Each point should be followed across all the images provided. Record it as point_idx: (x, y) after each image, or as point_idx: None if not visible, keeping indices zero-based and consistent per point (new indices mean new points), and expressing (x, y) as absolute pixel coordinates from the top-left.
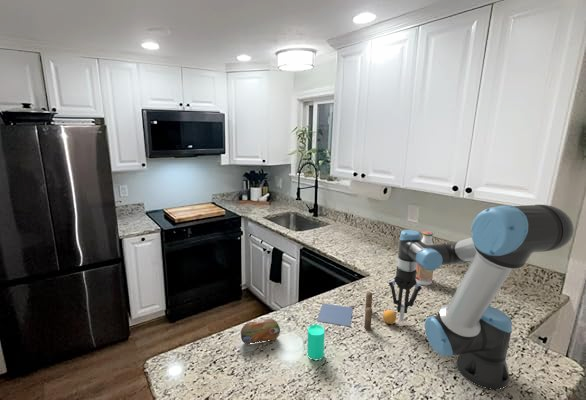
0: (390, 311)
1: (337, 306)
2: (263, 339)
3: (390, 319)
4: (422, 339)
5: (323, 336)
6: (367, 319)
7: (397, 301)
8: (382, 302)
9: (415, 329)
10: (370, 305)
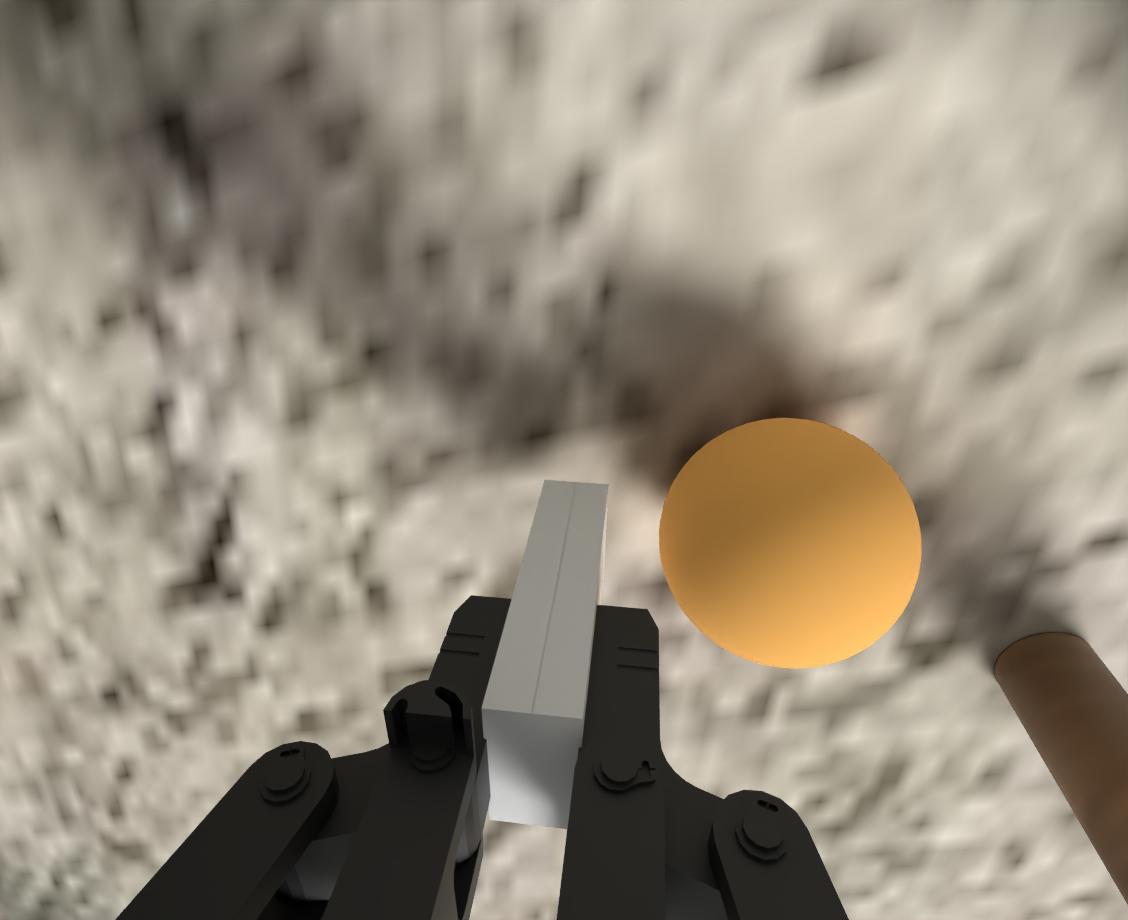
0: (801, 614)
1: None
2: None
3: (796, 445)
4: (244, 148)
5: None
6: None
7: (683, 887)
8: None
9: (369, 394)
10: (1101, 752)
